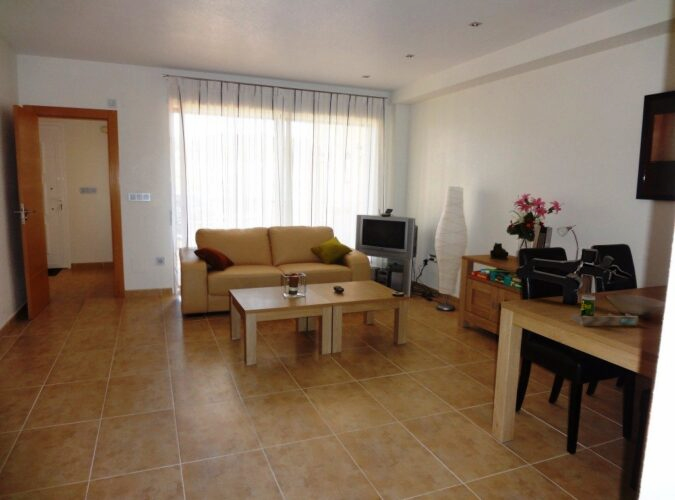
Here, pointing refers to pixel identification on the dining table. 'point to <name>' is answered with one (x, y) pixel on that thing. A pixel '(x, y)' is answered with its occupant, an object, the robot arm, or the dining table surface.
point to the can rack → (605, 320)
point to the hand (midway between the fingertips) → (630, 278)
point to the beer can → (587, 305)
